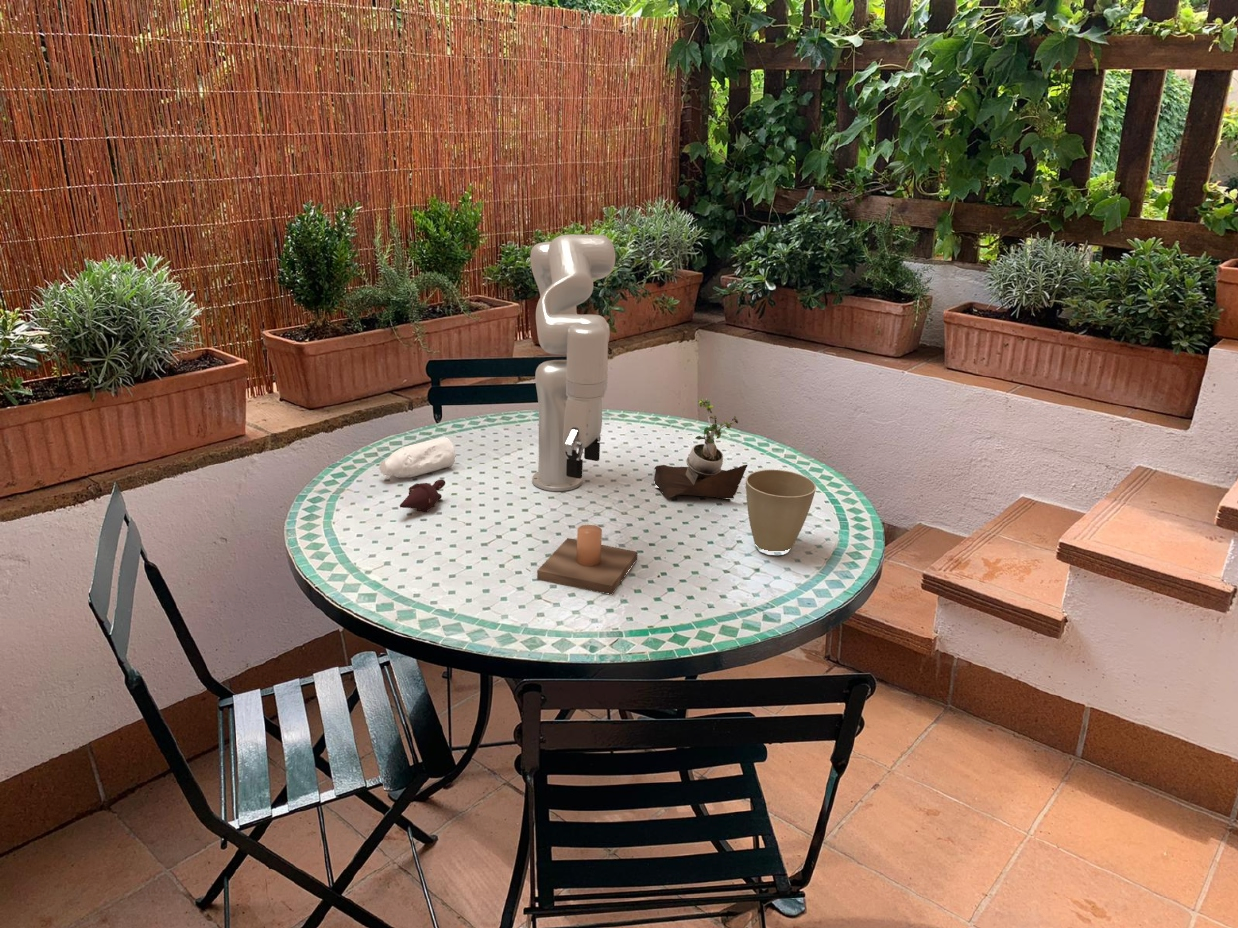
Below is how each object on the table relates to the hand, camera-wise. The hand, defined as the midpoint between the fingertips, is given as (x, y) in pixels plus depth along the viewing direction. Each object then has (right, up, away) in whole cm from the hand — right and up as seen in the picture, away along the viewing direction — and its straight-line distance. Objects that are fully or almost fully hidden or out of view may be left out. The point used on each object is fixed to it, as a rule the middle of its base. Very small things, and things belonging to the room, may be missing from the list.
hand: (583, 468), depth 187 cm
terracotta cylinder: (+1, -19, +4) cm, 19 cm away
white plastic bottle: (-43, -2, +48) cm, 65 cm away
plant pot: (+41, -18, +17) cm, 48 cm away
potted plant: (+27, -6, +47) cm, 54 cm away
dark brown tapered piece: (-38, -10, +28) cm, 49 cm away
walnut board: (+1, -21, +4) cm, 21 cm away
